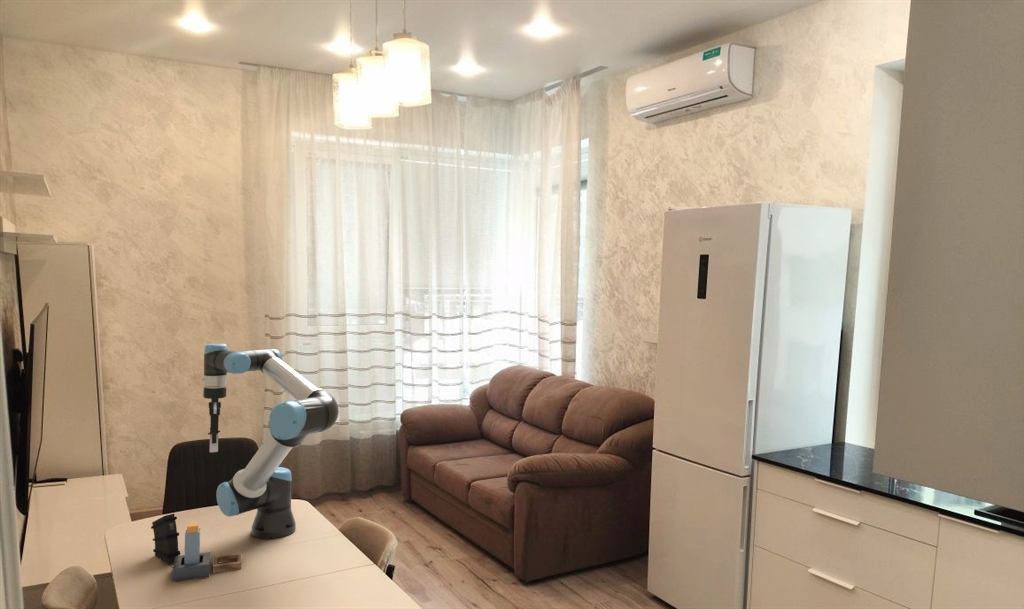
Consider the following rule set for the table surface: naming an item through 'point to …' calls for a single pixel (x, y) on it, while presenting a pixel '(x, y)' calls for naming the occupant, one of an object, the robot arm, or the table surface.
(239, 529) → the table surface
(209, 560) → the port
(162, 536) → the magazine
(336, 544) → the table surface
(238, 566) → the brown square frame
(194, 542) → the plug
